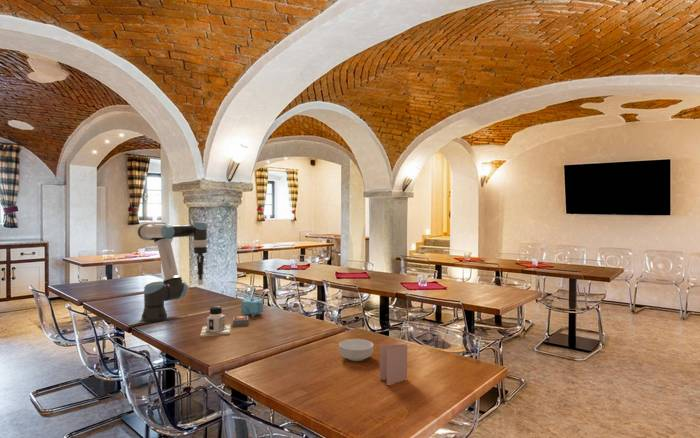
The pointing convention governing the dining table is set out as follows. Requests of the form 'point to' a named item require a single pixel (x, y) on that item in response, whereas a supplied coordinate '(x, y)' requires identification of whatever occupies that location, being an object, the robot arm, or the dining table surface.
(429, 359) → the dining table surface
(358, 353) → the cereal bowl
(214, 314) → the container
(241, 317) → the button
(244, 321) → the button box
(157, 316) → the robot arm
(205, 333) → the drawing board
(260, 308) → the teapot
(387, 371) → the greeting card
